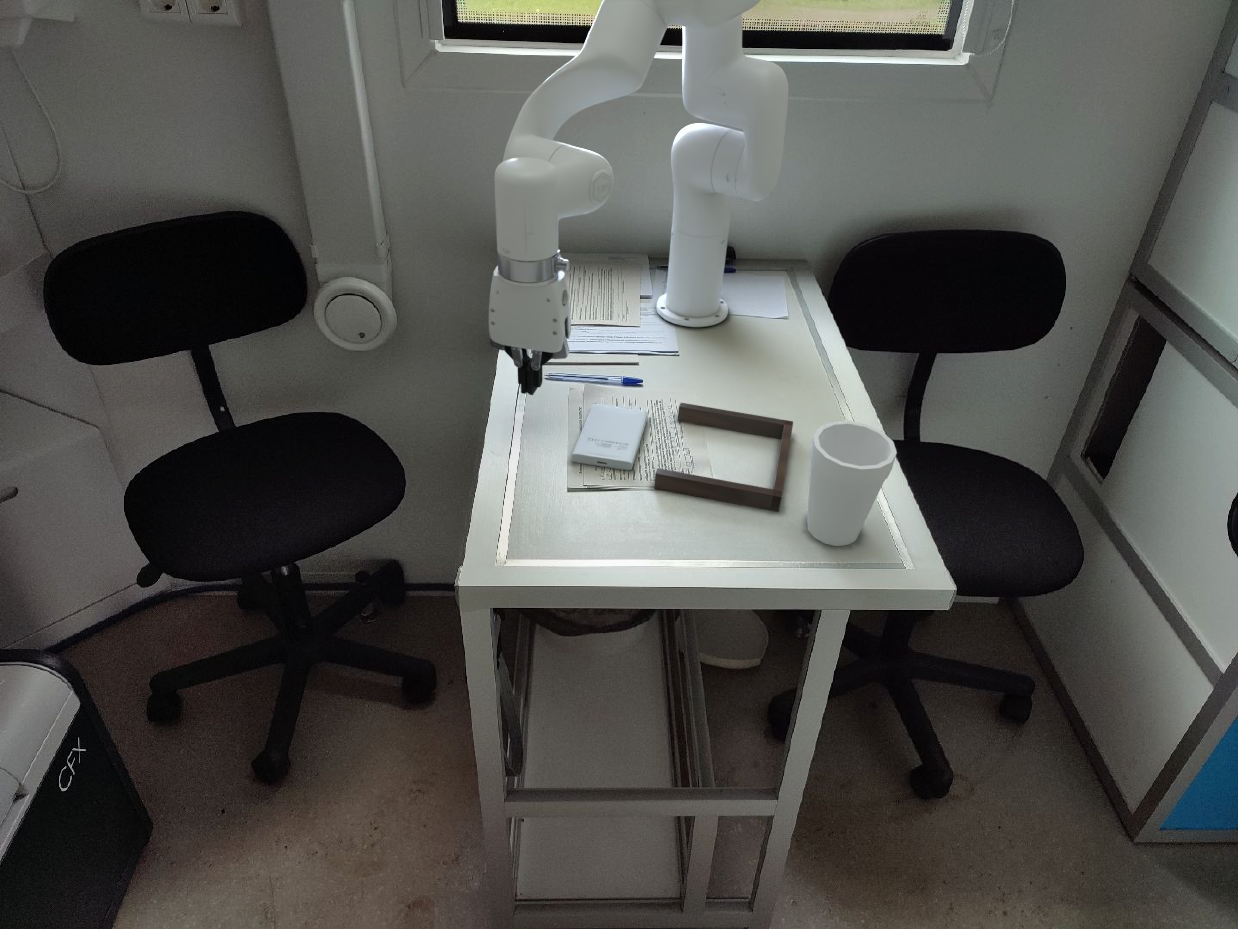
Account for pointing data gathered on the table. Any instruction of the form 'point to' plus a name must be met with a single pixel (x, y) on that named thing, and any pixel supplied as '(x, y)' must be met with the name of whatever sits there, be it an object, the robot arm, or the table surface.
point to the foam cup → (845, 478)
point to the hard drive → (610, 437)
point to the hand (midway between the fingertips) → (530, 389)
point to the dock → (723, 488)
